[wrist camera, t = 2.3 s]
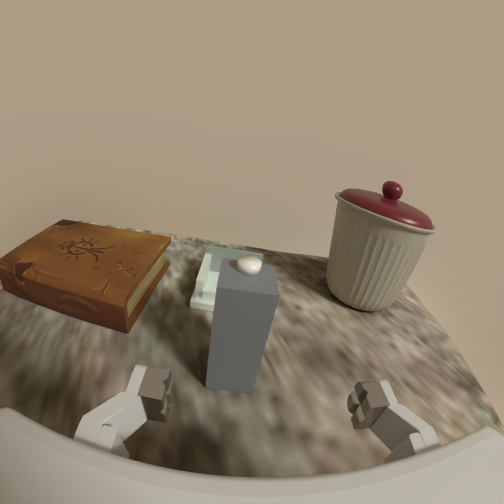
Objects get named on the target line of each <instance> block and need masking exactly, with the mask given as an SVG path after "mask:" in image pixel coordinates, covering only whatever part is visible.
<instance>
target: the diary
mask: <svg viewBox="0 0 504 504" xmlns="http://www.w3.org/2000/svg"><path fill="white" fill-rule="evenodd" d="M170 243H171V237H167V236H161V235H155V234H149V233H143V232H137V231H130V230H124V229H118V228H112V227H106V226H100V225H94V224H88V223H82V222H75V221H70V220H64V219H63V220H61V221H59V222H57V223H55V224H54V225H52V226H50V227H49V228H47V229H45V230H44V231H42V232H40V233H39V234H37V235H35V236H34V237H32V238H31V239H29V240H27V241H26V242H24V243H23V244H21V245H20V246H18V247H17V248H15V249H13V250H12V251H11V252H9V253H8V254H6V255H5V256H3V257H2V258H0V279H1V283H2V286H3V289H4V290H6V291H8V292H10V293H13V294H15V295H17V296H20V297H22V298H24V299H27V300H29V301H32V302H34V303H37V304H39V305H42V306H45V307H47V308H50V309H53V310H55V311H58V312H61V313H64V314H67V315H69V316H72V317H75V318H78V319H81V320H85V321H88V322H91V323H94V324H97V325H101V326H104V327H107V328H111V329H114V330H118V331H122V332H125V333H129V332H130V330H131V328H132V327H133V325H134V323H135V321H136V320H137V318H138V316H139V315H140V313H141V311H142V309H143V308H144V306H145V304H146V303H147V301H148V299H149V298H150V296H151V294H152V293H153V291H154V289H155V288H156V286H157V284H158V283H159V281H160V280H161V278H162V276H163V275H164V273H165V272H166V270H167V268H168V267H169V265H170V262H165V249H166V248H167V247H168V245H169V244H170Z"/></svg>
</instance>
